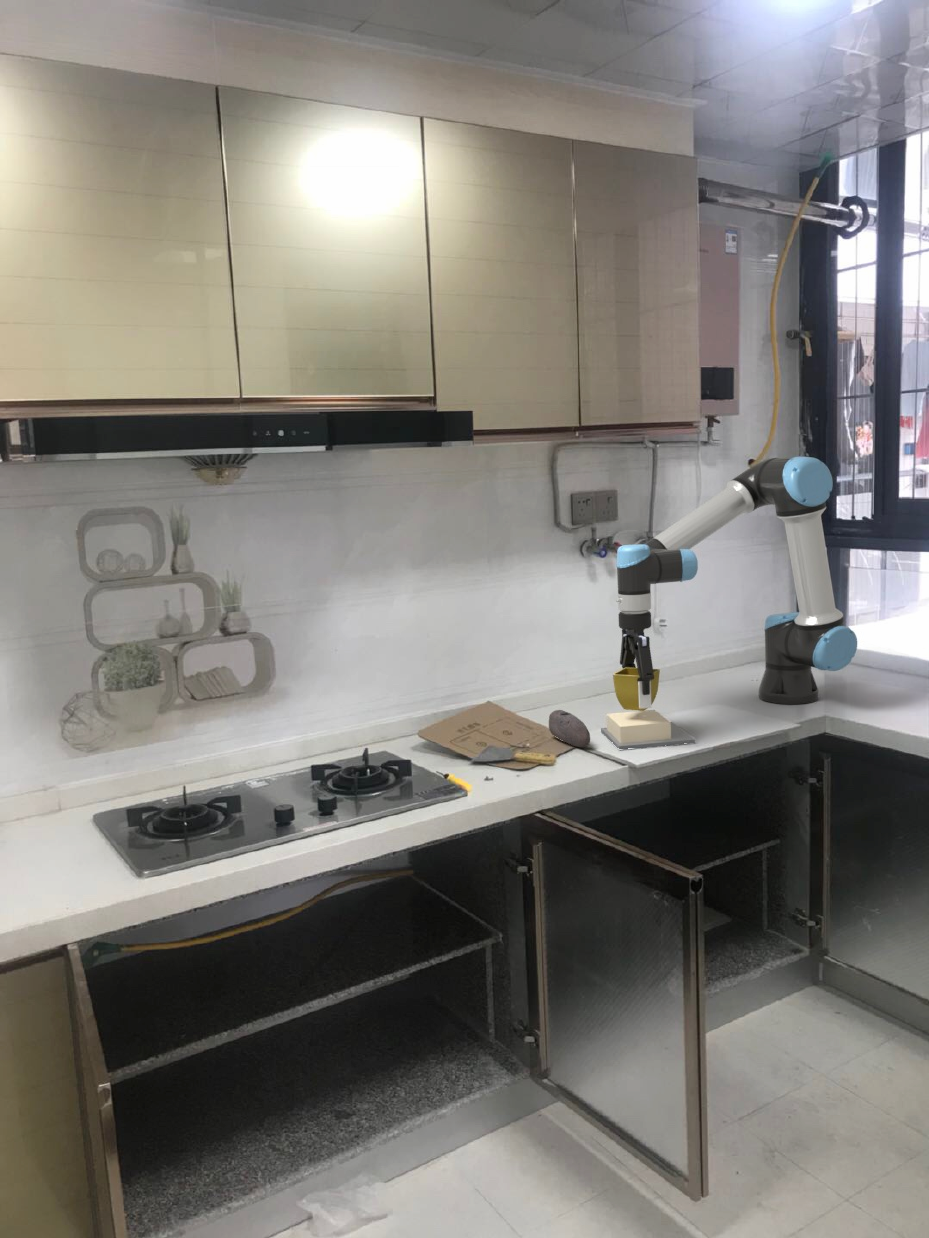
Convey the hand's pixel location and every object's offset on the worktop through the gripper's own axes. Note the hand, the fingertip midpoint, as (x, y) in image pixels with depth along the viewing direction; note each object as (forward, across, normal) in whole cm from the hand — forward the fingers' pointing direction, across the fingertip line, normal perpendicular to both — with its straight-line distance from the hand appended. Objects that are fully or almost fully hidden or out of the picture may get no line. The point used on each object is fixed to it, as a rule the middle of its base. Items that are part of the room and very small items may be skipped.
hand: (637, 701), depth 225 cm
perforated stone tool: (+9, -1, -16) cm, 19 cm away
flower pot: (+2, 0, 0) cm, 2 cm away
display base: (+9, 0, +2) cm, 9 cm away
